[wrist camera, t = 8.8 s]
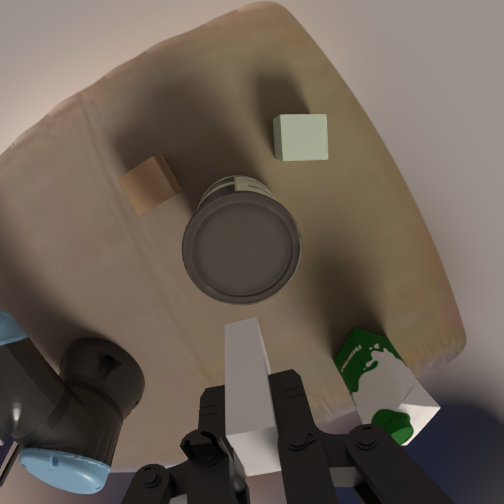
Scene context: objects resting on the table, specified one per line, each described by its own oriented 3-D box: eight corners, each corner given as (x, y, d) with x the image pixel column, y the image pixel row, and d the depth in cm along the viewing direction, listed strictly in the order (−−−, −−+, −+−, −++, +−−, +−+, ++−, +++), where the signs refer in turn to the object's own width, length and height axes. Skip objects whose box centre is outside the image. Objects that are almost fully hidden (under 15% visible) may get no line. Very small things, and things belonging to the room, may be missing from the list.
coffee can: (200, 256, 42) (188, 308, 29) (195, 177, 38) (176, 194, 25) (279, 252, 42) (300, 302, 29) (278, 173, 39) (303, 189, 26)
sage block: (275, 158, 38) (282, 161, 33) (272, 119, 37) (280, 114, 31) (314, 157, 39) (328, 159, 33) (312, 118, 37) (326, 114, 31)
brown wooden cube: (149, 207, 39) (139, 216, 35) (129, 175, 38) (116, 179, 33) (182, 187, 39) (175, 194, 34) (162, 154, 37) (152, 155, 33)
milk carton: (352, 320, 47) (408, 411, 28) (394, 333, 48) (454, 414, 30) (325, 363, 49) (363, 459, 30) (367, 373, 51) (412, 458, 32)
